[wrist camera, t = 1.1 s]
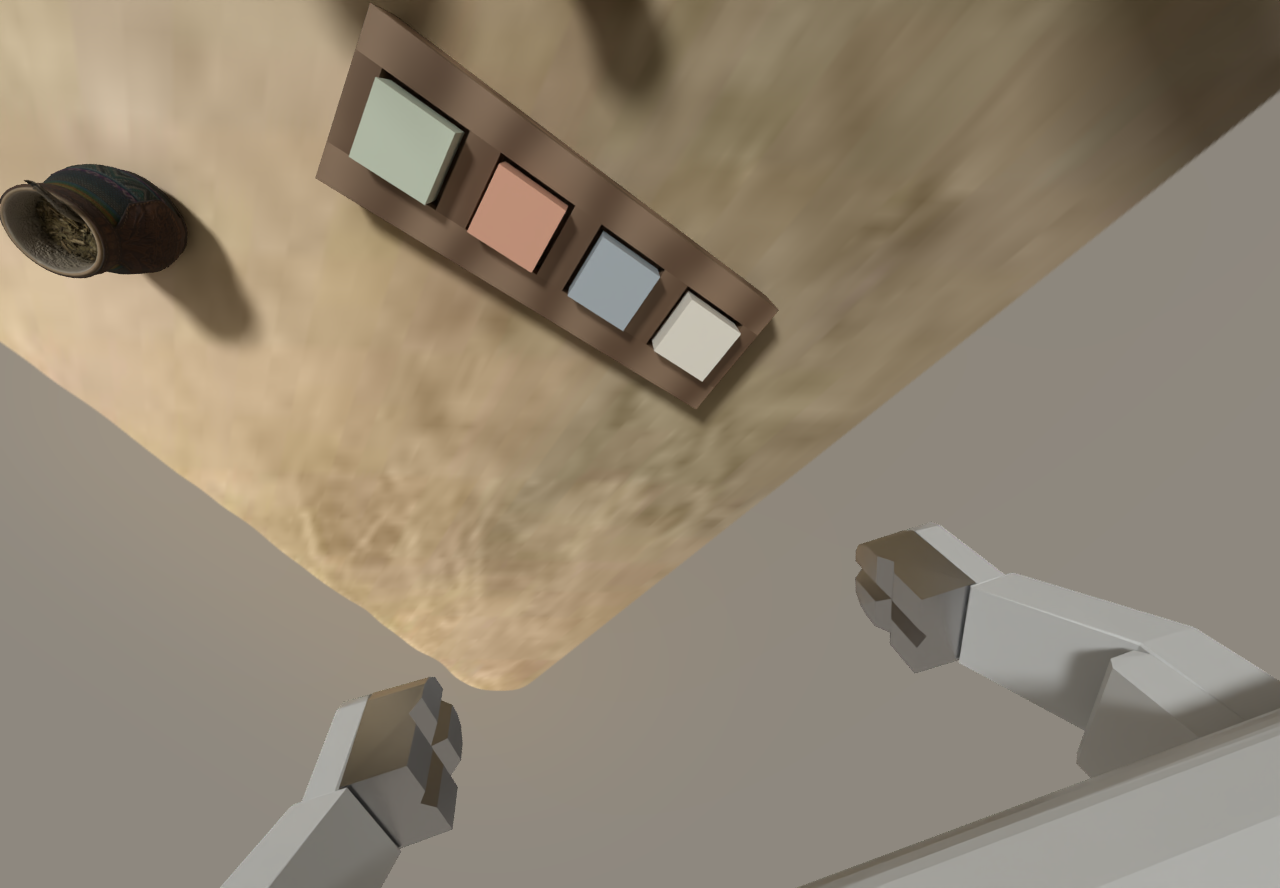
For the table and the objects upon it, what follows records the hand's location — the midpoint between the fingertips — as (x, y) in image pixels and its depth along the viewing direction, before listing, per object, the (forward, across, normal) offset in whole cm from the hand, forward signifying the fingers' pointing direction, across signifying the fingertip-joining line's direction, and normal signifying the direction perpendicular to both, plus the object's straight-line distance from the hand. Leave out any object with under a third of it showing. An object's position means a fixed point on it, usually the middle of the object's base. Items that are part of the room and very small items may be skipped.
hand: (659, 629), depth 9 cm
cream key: (+33, -10, +5) cm, 35 cm away
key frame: (+37, -2, -4) cm, 38 cm away
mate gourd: (+42, +28, -13) cm, 52 cm away
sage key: (+35, +6, -13) cm, 37 cm away
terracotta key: (+34, +1, -7) cm, 35 cm away
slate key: (+34, -5, -1) cm, 34 cm away
